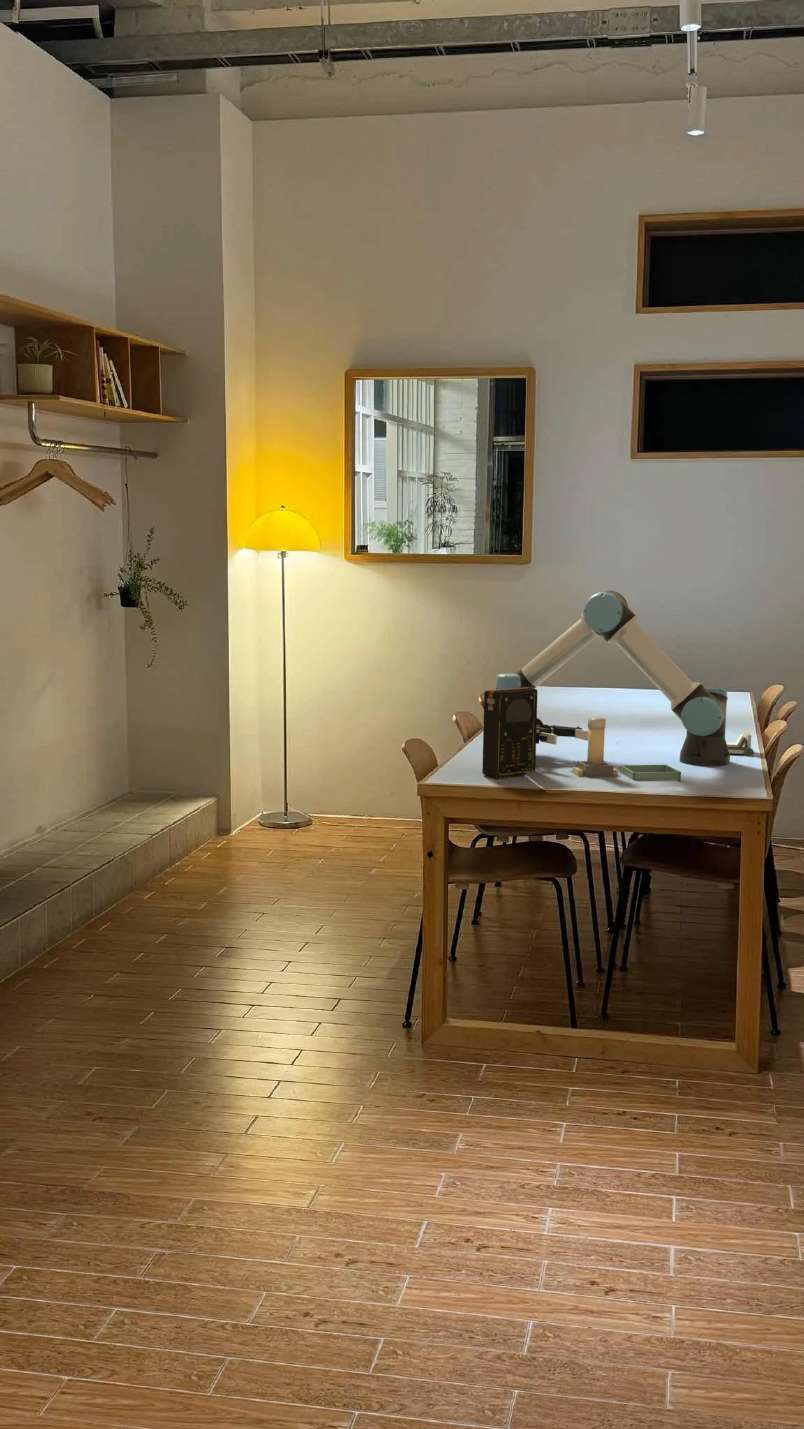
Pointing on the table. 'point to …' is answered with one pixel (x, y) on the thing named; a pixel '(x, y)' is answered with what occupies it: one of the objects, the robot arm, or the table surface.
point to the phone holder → (742, 745)
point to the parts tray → (650, 772)
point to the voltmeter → (509, 732)
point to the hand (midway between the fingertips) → (573, 738)
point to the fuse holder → (595, 770)
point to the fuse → (596, 741)
